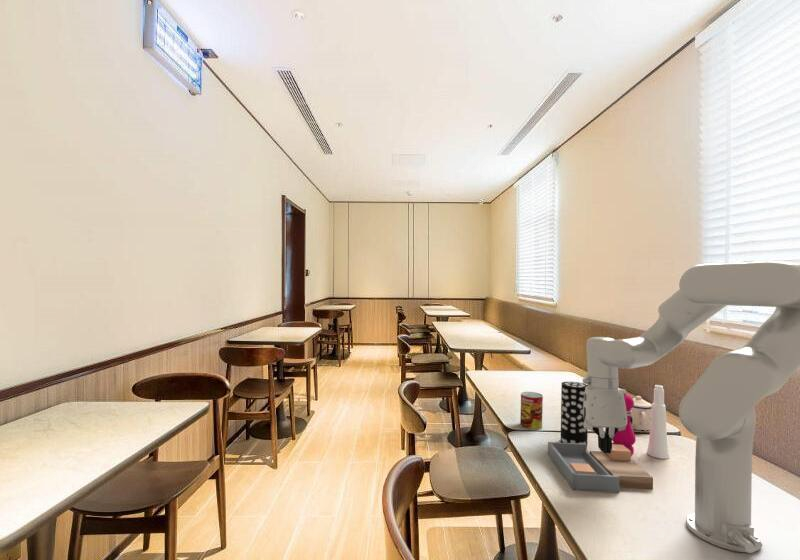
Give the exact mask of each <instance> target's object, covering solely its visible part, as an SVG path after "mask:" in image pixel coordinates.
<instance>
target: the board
mask: <svg viewBox="0 0 800 560" xmlns="http://www.w3.org/2000/svg"><path fill="white" fill-rule="evenodd" d="M589 453H590V454H591V455H592V456H593V457H594V458H595V459H596V460H597V461H598V462H599V463H600V464H601V465H602V466H603V467H604V468H605V469H606V470H607V471H608V472H609V473H610V474H611V475H615V476H619V477H620V478H619V488H627V489H629V488H631V489H645V490H647V489H648V490H653V489H654V477H653V476H652V475H651V474H650V473H649V472H648V471H646V470H645V469H644V468H643V467H641V466H640V465H639V464H638V463H637V462H635V460H633V459H632V458H631V460H616V459H612V458H611V457H610V456H609V455H608V454H607V453H603V452H602V451H601V450H599V451H597V450H589Z"/></svg>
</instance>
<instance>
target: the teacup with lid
mask: <svg viewBox="0 0 800 560" xmlns="http://www.w3.org/2000/svg"><path fill="white" fill-rule="evenodd" d="M632 399H633V401H634V406H633V408H631V410H632V415H630V424H631V427H632V430H635V429H636V430H637V431H641V430H644V431H643V432H647V430H648V431H650V426H651V411H652V403H650V402H648V401H646V400H645V399H643V398H642V396H641V395H636V396H635V397H634V398H633V397H632Z"/></svg>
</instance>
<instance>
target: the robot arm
mask: <svg viewBox="0 0 800 560" xmlns="http://www.w3.org/2000/svg"><path fill="white" fill-rule="evenodd" d="M678 285H679V286H678V287H679V289H678V290H676V291H675V292H674V293H673V294H672V295H671V296H669V297H668V298H666V300H664V301H663V302H662V303H661V304H659V306H658V309H657V311H658V314H659V315H658V318H657V320H656V322H655V323H653V325H652V326H650V327H649V328H648V329H647V330H645V332H643V333H642V334H640V335H639V336H637V337H628V338H622V339H620V338H619V339H614V338H611V337H609V336H608V337H606V336H593V337H589V338H588V339H587V340H586V364H587V365H586V367H587V368H586V369H587V371H586V372H587V373H586V374H587V375H586V378H583V379H582V383H583V384H586V385H588V387H586V388H585V393H584V400H583V419H584V425H583V427H584V428H585V429H587V430H588V431H593V432H594V433H595V434H596V435H597V446H598V449H599V451H602V452H603V453H611V449H612V443H613V441H612V438H613V437H614V435H615V434H616V433H617V432H618V431H621V430H625V429H626V427H625V426H626V425H627V412H626V405H625V399H624V395H623V391H622V389H623V388H619V387H620V386H619V385H620V384H619V369H621V370H622V369H624V370H628V369H629V370H630V369H637V368H640V367H647V366H650V365H653V364H654V363H656V362H658V361H659V360H660V359H662V358H663V357H665V356H666V355H668V354H670V352H672V351H673V350H674V349H675V348H677V347H679V345H680V344H681V343H682V342H683V341H684V340H685V339H686V338H687V337H688V335H689V334H690V333H691V332H693V331H694V330H695V329H697V328H698V327H699V326H701V325H702V324H703V323H705V322H706V321H707V320H708V319H711V318H712V317H713V316H714V315H716V314H717V313H718V312H720V311H721V310H722V309H724V308H725V307H727V306H735V307H736V306H737V307H739V306H740V307H769V308H770V307H772V308H774V307H775V310H774V311H773V313H772V314H771V316H769V317H768V318H767V319H766V320H765V321H764V322H763V323H762V325H760V326H759V328H758V329H757V331H756V332H755V333H754V334H753V336H752V337H751V338H750V339H749V340H748V341H747V342H746V343H745V344H744V345H743V346H742V347H741V348H738V349H736V350H731V351H728V352H726V353H723V354H721V355H719V356H718V357H717V358H716V359H714V360H713V361H712V362H711V363H710V364H709V365H708V367H706V368H705V370H704V372H702V374H701V375H700V376H699V377H698V378H697V380H696V381H695V382H694V383H693V384H692V386H691V387H690V388H689V390H688V391H687V392H686V394H685V395H684V396H683V397H682V399H681V401H680V403H679V405H678V406H679V407H678V417H679V419H680V422H681V424H682V426H683V427H684V428H685V429H686V430H687V431H688V432H689V433H690V434H692V435H693V436H695V438H696V440H695V455H694V456H695V459H694V460H695V463H694V466H695V468H694V470H695V471H694V512H693V513H692V512H691V513H690V514H688V515H686V517H685V524H686V525H685V526H687V528H688V529H689V530H690V531H691V533H693V534H694V535H695V536H697V537H698V538H700V539H701V540H704V541H705V542H707V543H710V544H711V545H714V546H716V547H719V548H722V549H725V550H728V551H732V552H739V553H748V554H752V553H755V552H757V551H760V550H761V549H762V547H763V543H762V541H761V538H760V537H759V536H758V534H757V533H756V532H755V527H754V526H753V525H752V487H753V486H752V478H753V477H752V476H753V475H752V474H753V471H752V469H753V450H754V449H753V447H754V437H755V432H756V426H757V425H756V424H757V412H756V408H755V407H756V406H757V405H758V404H760V402H761V401H762V400H763V399H764V398H766V397H768V396H771V395H773V394H775V393H776V392H778V391H780V390H781V389H782V388H783V386H785V384H786V382H787V381H788V380H789V378H791V377H792V375H793V374H794V373H795V372H797V370H798V369H799V368H800V263H793V262H786V261H773V260H769V261H752V262H751V261H750V262H749V261H748V262H732V263H731V262H730V263H729V262H728V263H726V262H725V263H701V264H697V265H693V266H691V267H690V268H688V269H687V270H686V271H684V273H682V276H681V277H680V279H679V284H678Z"/></svg>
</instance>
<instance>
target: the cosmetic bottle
mask: <svg viewBox="0 0 800 560" xmlns="http://www.w3.org/2000/svg"><path fill="white" fill-rule="evenodd" d="M651 405H652V411H651V426H650V430H649V440H648V446H647V451H646V453H647V455H649V456H651V457H653V458H657V459H661V460H662V459H663V460H667V459H669V458H670V452H669V445H668V435H667V434H668V433H667V430H668V429H667V411H666V409H667V408H666V404H665V389H664V386H663V385H660V384H655V385H654V388H653V402H652V403H651Z"/></svg>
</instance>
